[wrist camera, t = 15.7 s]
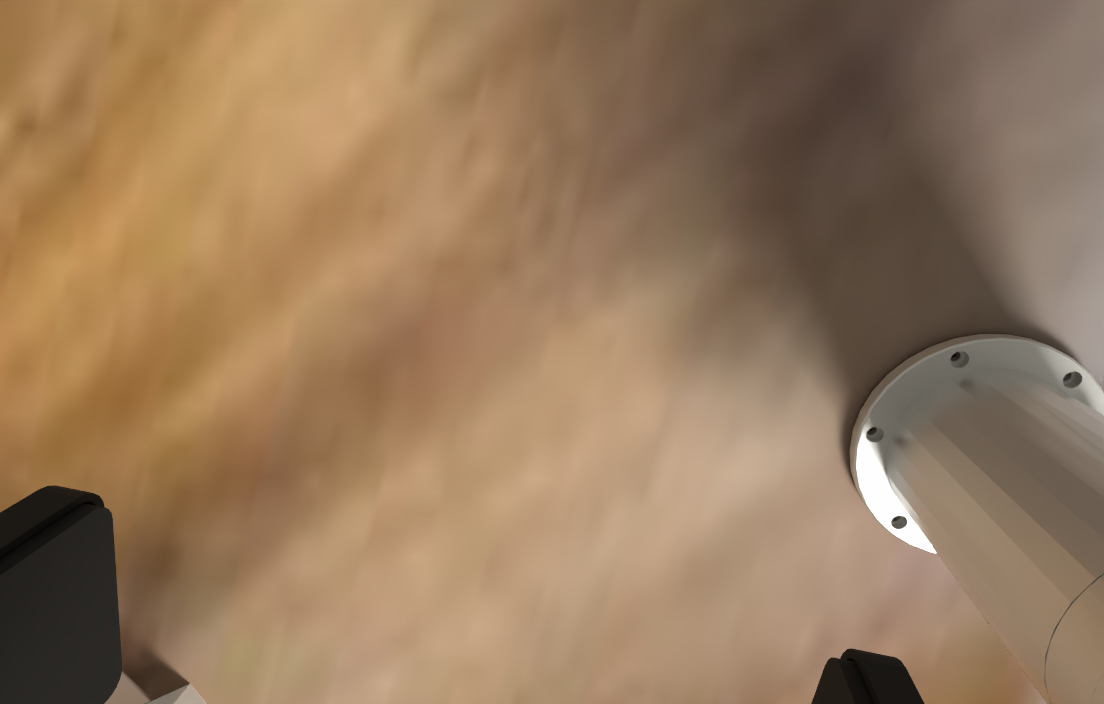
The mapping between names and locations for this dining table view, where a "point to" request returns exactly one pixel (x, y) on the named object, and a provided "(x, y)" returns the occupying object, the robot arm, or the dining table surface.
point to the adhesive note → (180, 697)
